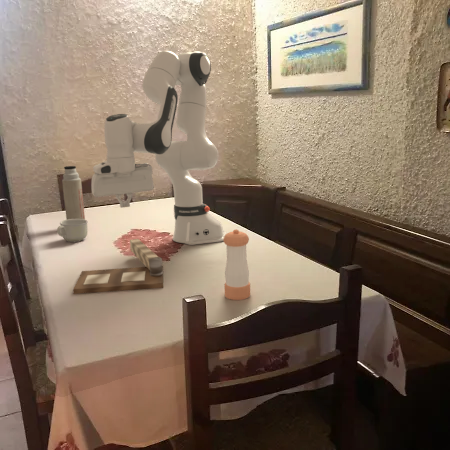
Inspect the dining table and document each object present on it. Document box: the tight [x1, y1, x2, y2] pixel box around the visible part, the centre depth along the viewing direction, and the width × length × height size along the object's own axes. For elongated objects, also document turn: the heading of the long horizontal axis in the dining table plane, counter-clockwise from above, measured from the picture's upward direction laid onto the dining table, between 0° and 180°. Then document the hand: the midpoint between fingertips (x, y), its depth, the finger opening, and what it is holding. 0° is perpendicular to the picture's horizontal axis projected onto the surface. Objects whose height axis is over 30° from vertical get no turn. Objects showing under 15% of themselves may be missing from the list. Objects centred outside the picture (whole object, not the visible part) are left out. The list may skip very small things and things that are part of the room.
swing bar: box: [129, 238, 164, 273], centre depth 161 cm, size 28×4×4 cm, turn 25°
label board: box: [72, 265, 164, 295], centre depth 150 cm, size 26×16×2 cm, turn 97°
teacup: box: [56, 219, 89, 243], centre depth 196 cm, size 14×11×8 cm
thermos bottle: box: [61, 165, 86, 220], centre depth 215 cm, size 8×8×28 cm
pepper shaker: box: [223, 229, 251, 301], centre depth 134 cm, size 7×7×19 cm
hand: (125, 206), depth 160 cm, fingers closed
